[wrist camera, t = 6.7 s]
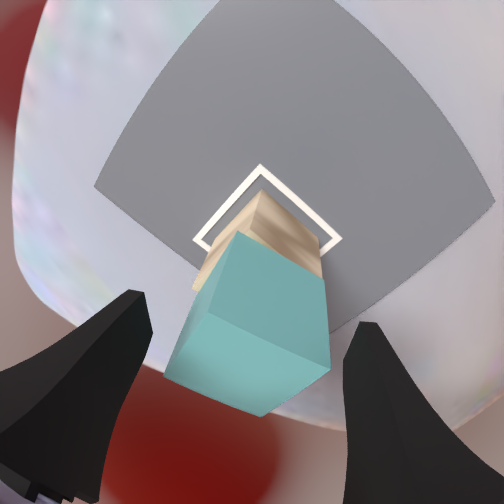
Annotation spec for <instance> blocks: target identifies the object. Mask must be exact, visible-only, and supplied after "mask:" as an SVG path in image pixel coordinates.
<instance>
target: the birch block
mask: <svg viewBox="0 0 504 504" xmlns="http://www.w3.org/2000/svg"><path fill="white" fill-rule="evenodd" d="M237 230H238V231H239V232H241V233H243V234H245V235H246V236H248V237H250V238H252V239H254V240H255V241H257V242H259V243H261V244H262V245H264V246H266V247H268V248H269V249H271V250H273V251H275V252H276V253H278V254H280V255H282V256H283V257H285V258H287V259H289V260H290V261H292V262H294V263H296V264H297V265H299V266H301V267H302V268H304V269H306V270H308V271H309V272H311V273H313V274H315V275H316V276H318V277H320V278H322V268H321V258H320V249H319V241H318V237H317V236H316V235H314V234H313V233H312V232H311V231H310V230H309V229H308V228H307V227H306V226H304V225H303V224H302V223H301V222H300V221H299V220H298V219H296V218H295V217H294V216H293V215H292V214H291V213H290V212H289V211H287V210H286V209H285V208H284V207H283V206H282V205H280V204H279V203H278V202H277V201H276V200H275V199H274V198H272V197H271V196H270V195H269V194H268V193H266V192H265V191H264V190H263V189H261V190H260V191H259V192H258V193H257V194H256V196H255V197H254V198H253V199H252V200H251V201H250V202H249V203H248V204H247V205H246V206H245V207H244V208H243V209H242V210H241V211H240V212H239V214H238V215H237V216H236V217H235V218H234V219H233V220H232V221H231V222H230V223H229V224H228V225H227V226H226V228H225V229H224V230H223V231H222V232H221V233H220V234H219V235H218V236H217V237H216V238H215V240H214V242H213V244H212V246H211V248H210V250H209V252H208V255H207V257H206V259H205V261H204V263H203V265H202V267H201V269H200V271H199V274H198V276H197V278H196V280H195V282H194V284H193V286H192V289H194V290H195V291H197V292H198V293H199V291H200V289H201V288H202V286H203V285H204V283H205V281H206V280H207V278H208V276H209V275H210V273H211V272H212V270H213V268H214V267H215V265H216V264H217V262H218V260H219V259H220V257H221V256H222V254H223V252H224V251H225V249H226V248H227V246H228V244H229V243H230V241H231V240H232V238H233V236H234V235H235V233H236V232H237ZM322 279H323V278H322Z"/></svg>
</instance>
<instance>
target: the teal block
mask: <svg viewBox="0 0 504 504" xmlns="http://www.w3.org/2000/svg"><path fill="white" fill-rule="evenodd" d="M330 370H331V360H330V344H329V329H328V316H327V304H326V293H325V283H324V280H323V279H322V278H320V277H318V276H316V275H315V274H313V273H311V272H309V271H308V270H306V269H304V268H302V267H301V266H299V265H297V264H296V263H294V262H292V261H290V260H289V259H287V258H285V257H283V256H282V255H280V254H278V253H276V252H275V251H273V250H271V249H269V248H268V247H266V246H264V245H262V244H261V243H259V242H257V241H255V240H254V239H252V238H250V237H248V236H246V235H245V234H243V233H241V232H239V231H238V230H237V232H236V233H235V235H234V236H233V238H232V240H231V241H230V243H229V244H228V246H227V248H226V249H225V251H224V252H223V254H222V256H221V257H220V259H219V260H218V262H217V264H216V265H215V267H214V268H213V270H212V272H211V273H210V275H209V276H208V278H207V280H206V281H205V283H204V285H203V286H202V288H201V289H200V291H199V293H198V294H197V296H196V298H195V300H194V303H193V305H192V307H191V310H190V312H189V314H188V317H187V319H186V321H185V324H184V326H183V329H182V331H181V333H180V336H179V338H178V341H177V343H176V346H175V348H174V350H173V353H172V355H171V358H170V360H169V363H168V365H167V368H166V370H165V373H164V375H163V376H164V377H166V378H168V379H170V380H172V381H174V382H176V383H178V384H180V385H182V386H185V387H187V388H189V389H191V390H194V391H196V392H198V393H200V394H203V395H205V396H207V397H210V398H212V399H215V400H217V401H220V402H222V403H225V404H227V405H230V406H232V407H235V408H238V409H240V410H243V411H246V412H248V413H251V414H254V415H257V416H260V417H262V416H264V415H265V414H267V413H268V412H270V411H272V410H273V409H275V408H276V407H278V406H279V405H281V404H282V403H284V402H286V401H287V400H289V399H290V398H292V397H293V396H295V395H296V394H297V393H299V392H300V391H302V390H303V389H305V388H306V387H308V386H309V385H310V384H312V383H313V382H315V381H316V380H317V379H319V378H320V377H322V376H323V375H324V374H326V373H327V372H328V371H330Z"/></svg>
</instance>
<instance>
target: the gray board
mask: <svg viewBox="0 0 504 504" xmlns="http://www.w3.org/2000/svg"><path fill="white" fill-rule="evenodd" d="M94 187H95V188H96V189H97V190H98V191H99V192H101V193H102V194H103V195H104V196H106V197H107V198H108V199H109V200H110V201H112V202H113V203H114V204H115V205H117V206H118V207H119V208H120V209H121V210H123V211H124V212H125V213H126V214H128V215H129V216H130V217H131V218H133V219H134V220H135V221H136V222H138V223H139V224H140V225H141V226H143V227H144V228H145V229H146V230H148V231H149V232H150V233H152V234H153V235H154V236H155V237H157V238H158V239H159V240H160V241H162V242H163V243H164V244H166V245H167V246H168V247H170V248H171V249H172V250H173V251H175V252H176V253H177V254H179V255H180V256H181V257H183V258H184V259H185V260H187V261H188V262H189V263H190V264H192V265H193V266H194V267H196V268H197V269H198V270H200V269H201V267H202V265H203V263H204V261H205V259H206V257H207V255H208V252H209V250H210V248H211V246H212V244H213V242H214V240H215V238H216V237H217V236H218V235H219V234H220V233H221V232H222V231H223V230H224V229H225V228H226V226H227V225H228V224H229V223H230V222H231V221H232V220H233V219H234V218H235V217H236V216H237V215H238V214H239V212H240V211H241V210H242V209H243V208H244V207H245V206H246V205H247V204H248V203H249V202H250V201H251V200H252V199H253V198H254V197H255V196H256V194H257V193H258V192H259V191H260V190H261V189H263V190H264V191H265V192H266V193H268V194H269V195H270V196H271V197H272V198H274V199H275V200H276V201H277V202H278V203H279V204H280V205H282V206H283V207H284V208H285V209H286V210H287V211H289V212H290V213H291V214H292V215H293V216H294V217H295V218H296V219H298V220H299V221H300V222H301V223H302V224H303V225H304V226H306V227H307V228H308V229H309V230H310V231H311V232H312V233H313V234H314V235H316V236H317V237H318V241H319V249H320V258H321V268H322V278H323V280H324V283H325V293H326V304H327V316H328V329H329V334H330V333H331V332H333V331H334V330H336V329H337V328H339V327H340V326H342V325H343V324H345V323H346V322H348V321H349V320H351V319H352V318H354V317H355V316H357V315H358V314H360V313H361V312H363V311H364V310H365V309H367V308H368V307H370V306H371V305H373V304H374V303H375V302H377V301H378V300H380V299H381V298H382V297H384V296H385V295H386V294H388V293H389V292H390V291H392V290H393V289H394V288H396V287H397V286H398V285H400V284H401V283H402V282H404V281H405V280H406V279H408V278H409V277H410V276H411V275H413V274H414V273H415V272H416V271H418V270H419V269H420V268H422V267H423V266H424V265H425V264H426V263H428V262H429V261H430V260H431V259H433V258H434V257H435V256H436V255H437V254H439V253H440V252H441V251H442V250H443V249H444V248H446V247H447V246H448V245H449V244H450V243H451V242H453V241H454V240H455V239H456V238H457V237H458V236H459V235H461V234H462V233H463V232H464V231H465V230H466V229H467V228H468V227H469V226H470V225H472V224H473V223H474V222H475V221H476V220H477V219H478V218H479V217H480V216H481V215H482V214H483V213H484V212H485V211H486V210H487V209H488V208H489V207H490V206H491V205H493V204H494V203H495V199H494V197H493V195H492V193H491V191H490V189H489V188H488V186H487V184H486V182H485V180H484V178H483V176H482V174H481V173H480V171H479V169H478V167H477V166H476V164H475V162H474V160H473V159H472V157H471V155H470V154H469V152H468V150H467V149H466V147H465V146H464V144H463V143H462V141H461V139H460V138H459V136H458V135H457V133H456V132H455V130H454V129H453V127H452V126H451V125H450V123H449V122H448V120H447V119H446V117H445V116H444V115H443V113H442V112H441V111H440V109H439V108H438V106H437V105H436V104H435V103H434V101H433V100H432V99H431V97H430V96H429V95H428V94H427V92H426V91H425V90H424V89H423V87H422V86H421V85H420V84H419V83H418V81H417V80H416V79H415V78H414V77H413V76H412V74H411V73H410V72H409V71H408V70H407V69H406V68H405V66H404V65H403V64H402V63H401V62H400V61H399V60H398V59H397V58H396V57H395V56H394V55H393V54H392V53H391V51H390V50H389V49H388V48H387V47H386V46H385V45H384V44H383V43H382V42H381V41H380V40H379V39H377V38H376V37H375V36H374V35H373V34H372V33H371V32H370V31H369V30H368V29H367V28H366V27H365V26H364V25H362V24H361V23H360V22H359V21H358V20H357V19H356V18H354V17H353V16H352V15H351V14H350V13H349V12H347V11H346V10H345V9H344V8H343V7H341V6H340V5H339V4H338V3H336V2H335V1H334V0H220V1H219V2H218V3H217V4H216V5H215V6H214V8H213V9H212V10H211V11H210V12H209V13H208V14H207V15H206V16H205V17H204V19H203V20H202V21H201V22H200V23H199V24H198V26H197V27H196V28H195V29H194V30H193V31H192V33H191V34H190V35H189V36H188V37H187V39H186V40H185V41H184V42H183V44H182V45H181V46H180V47H179V49H178V50H177V51H176V53H175V54H174V55H173V57H172V58H171V59H170V60H169V62H168V63H167V65H166V66H165V67H164V69H163V70H162V71H161V73H160V74H159V76H158V77H157V78H156V80H155V81H154V83H153V84H152V86H151V87H150V89H149V90H148V92H147V93H146V95H145V96H144V98H143V99H142V101H141V102H140V104H139V105H138V107H137V109H136V110H135V112H134V113H133V115H132V117H131V118H130V120H129V122H128V123H127V125H126V127H125V128H124V130H123V132H122V133H121V135H120V137H119V139H118V140H117V142H116V144H115V146H114V148H113V150H112V151H111V153H110V155H109V157H108V159H107V161H106V163H105V165H104V167H103V169H102V171H101V173H100V175H99V177H98V179H97V181H96V183H95V185H94Z"/></svg>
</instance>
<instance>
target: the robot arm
mask: <svg viewBox="0 0 504 504" xmlns="http://www.w3.org/2000/svg"><path fill="white" fill-rule="evenodd" d="M152 335H153V331H152V326H151V322H150V318H149V313H148V309H147V304H146V299H145V294H144V292H140V291H135V290H130V289H128V290H127V291H126V292H124V293H123V294H121V295H120V296H119V297H117V298H116V299H115V300H113V301H112V302H111V303H109V304H108V305H107V306H106V307H104V308H103V309H102V310H100V311H99V312H98V313H96V314H95V315H94V316H92V317H91V318H90V319H89V320H87V321H86V322H85V323H83V324H82V325H81V326H79V327H78V328H76V329H75V330H73V331H72V332H71V333H69V334H68V335H66V336H65V337H63V338H62V339H61V340H59V341H58V342H56V343H55V344H53V345H51V346H50V347H48V348H47V349H45V350H43V351H41V352H40V353H38V354H36V355H35V356H33V357H31V358H29V359H27V360H25V361H23V362H21V363H19V364H17V365H15V366H12V367H11V368H8V369H6V370H3V371H1V372H0V504H61V503H62V500H63V499H65V500H67V501H69V502H71V503H72V502H73V500H74V497H77V498H79V499H81V500H83V501H85V502H87V503H89V504H93V503H96V502H98V501H99V492H100V486H101V479H102V473H103V468H104V463H105V459H106V454H107V450H108V446H109V443H110V439H111V435H112V432H113V429H114V426H115V422H116V419H117V416H118V414H119V411H120V409H121V406H122V404H123V402H124V400H125V398H126V396H127V394H128V392H129V389H130V387H131V385H132V383H133V381H134V379H135V377H136V375H137V373H138V371H139V368H140V367H141V365H142V363H143V360H144V358H145V356H146V353H147V350H148V347H149V344H150V341H151V338H152ZM343 394H344V405H345V416H346V428H347V442H348V458H347V471H346V482H345V491H344V498H343V504H504V477H503V476H502V475H501V474H499V473H498V472H496V471H495V470H494V469H492V468H491V467H490V466H488V465H487V464H486V463H485V462H484V461H482V460H481V459H480V458H479V457H478V456H477V455H476V454H474V453H473V452H472V451H471V450H470V449H469V448H468V447H467V446H466V445H465V444H464V443H463V442H462V441H461V440H460V439H459V438H458V437H457V436H456V435H455V434H454V433H453V432H452V431H451V429H450V428H449V427H448V426H447V425H446V424H445V423H444V421H443V420H442V419H441V418H440V416H439V415H438V414H437V413H436V412H435V410H434V409H433V408H432V407H431V405H430V404H429V403H428V401H427V400H426V399H425V397H424V396H423V394H422V393H421V391H420V390H419V389H418V387H417V386H416V384H415V383H414V381H413V380H412V378H411V377H410V375H409V373H408V372H407V370H406V369H405V367H404V366H403V364H402V363H401V361H400V359H399V358H398V356H397V354H396V353H395V351H394V350H393V348H392V346H391V345H390V343H389V341H388V340H387V338H386V336H385V335H384V333H383V332H382V330H381V328H380V327H379V325H378V324H377V323H374V322H362V321H360V322H359V325H358V327H357V329H356V332H355V334H354V337H353V339H352V341H351V344H350V346H349V348H348V351H347V353H346V355H345V358H344V360H343Z"/></svg>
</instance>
